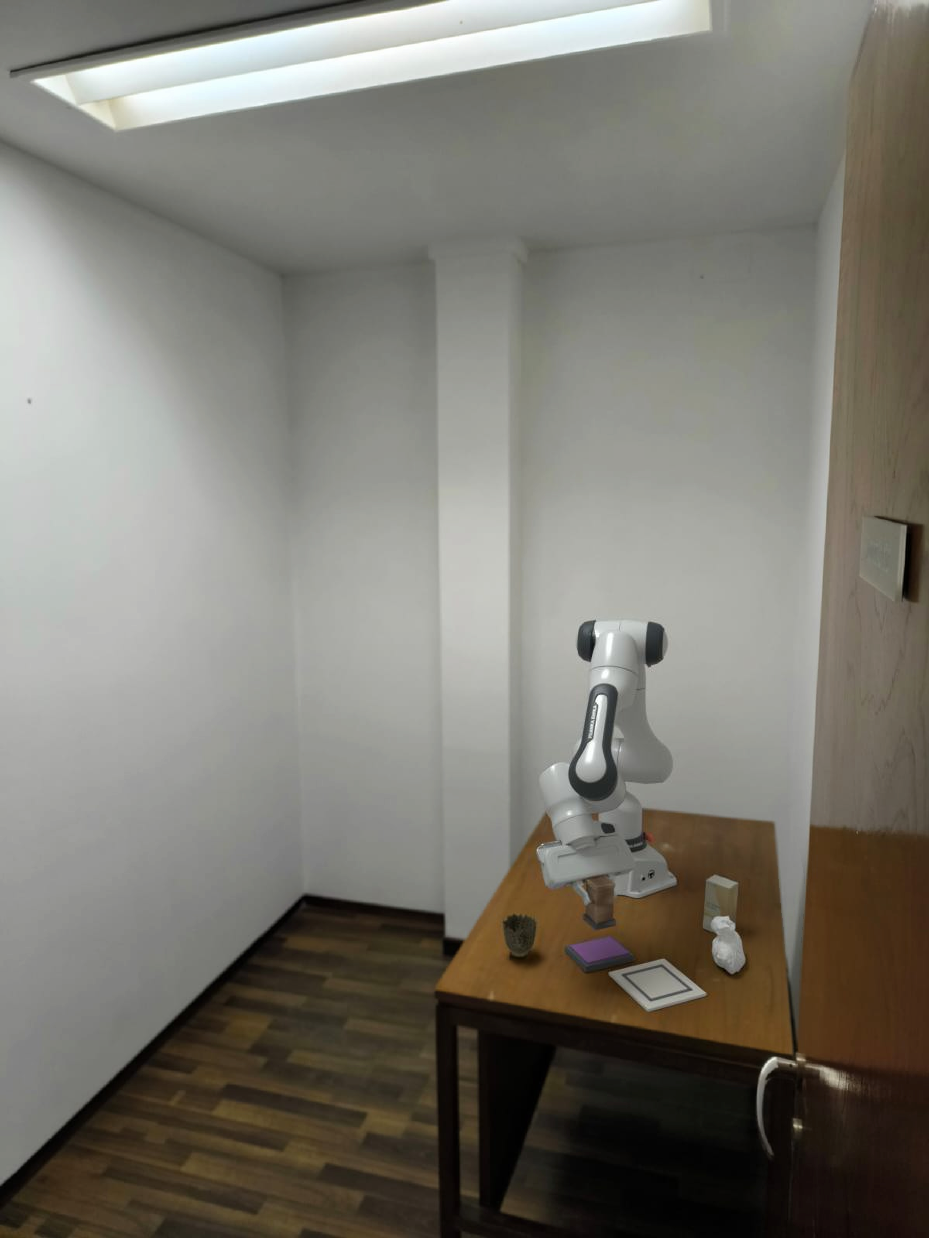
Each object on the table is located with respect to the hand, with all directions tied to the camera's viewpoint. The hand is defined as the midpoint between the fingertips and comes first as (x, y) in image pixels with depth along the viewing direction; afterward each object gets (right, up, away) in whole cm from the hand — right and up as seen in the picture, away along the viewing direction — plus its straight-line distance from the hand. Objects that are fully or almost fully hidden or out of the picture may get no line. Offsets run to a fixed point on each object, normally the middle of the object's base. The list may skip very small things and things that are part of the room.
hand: (601, 901), depth 164 cm
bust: (+29, -18, +11) cm, 36 cm away
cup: (-16, -17, +14) cm, 27 cm away
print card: (+12, -18, +3) cm, 22 cm away
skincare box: (+32, -16, +25) cm, 44 cm away
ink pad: (+2, -17, +14) cm, 22 cm away
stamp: (0, -5, +1) cm, 5 cm away
